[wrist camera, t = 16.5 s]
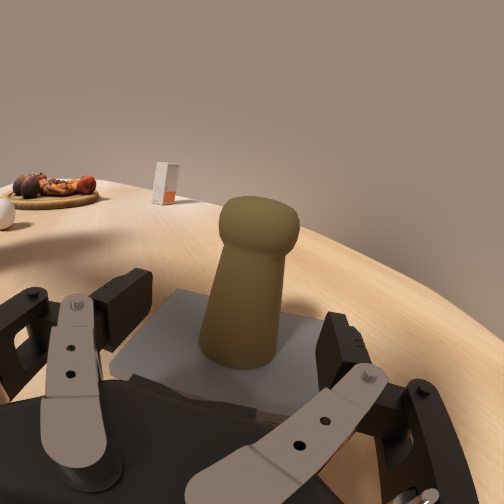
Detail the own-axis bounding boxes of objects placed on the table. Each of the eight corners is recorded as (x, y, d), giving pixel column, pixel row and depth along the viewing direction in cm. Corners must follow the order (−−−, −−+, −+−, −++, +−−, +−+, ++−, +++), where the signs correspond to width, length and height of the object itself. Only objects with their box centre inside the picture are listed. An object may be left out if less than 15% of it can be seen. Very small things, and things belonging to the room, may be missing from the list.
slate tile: (110, 374, 15) (108, 364, 15) (176, 296, 28) (177, 288, 27) (334, 429, 14) (340, 420, 14) (320, 328, 27) (323, 320, 26)
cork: (234, 315, 24) (255, 192, 21) (290, 347, 21) (326, 210, 18) (181, 337, 20) (196, 188, 17) (242, 381, 16) (277, 209, 13)
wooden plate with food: (115, 197, 77) (118, 171, 75) (56, 217, 47) (58, 178, 45) (43, 190, 75) (45, 167, 72) (-19, 206, 44) (-19, 176, 42)
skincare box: (162, 205, 73) (167, 162, 70) (151, 203, 74) (156, 161, 71) (174, 203, 79) (180, 163, 75) (163, 201, 80) (169, 162, 77)
